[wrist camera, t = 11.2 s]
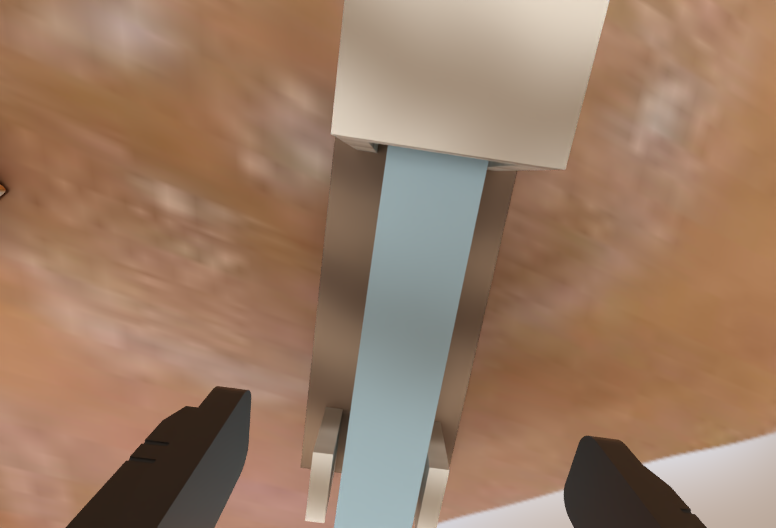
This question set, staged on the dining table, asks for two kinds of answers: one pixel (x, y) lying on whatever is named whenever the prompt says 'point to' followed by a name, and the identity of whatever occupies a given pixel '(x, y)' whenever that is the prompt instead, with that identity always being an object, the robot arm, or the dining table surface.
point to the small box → (2, 190)
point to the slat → (406, 331)
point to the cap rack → (441, 135)
